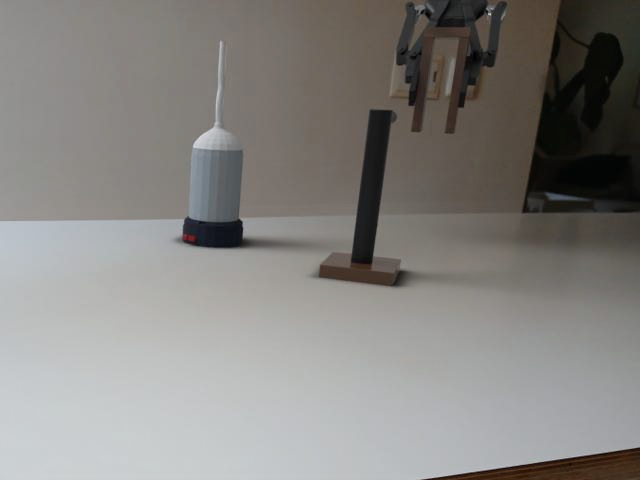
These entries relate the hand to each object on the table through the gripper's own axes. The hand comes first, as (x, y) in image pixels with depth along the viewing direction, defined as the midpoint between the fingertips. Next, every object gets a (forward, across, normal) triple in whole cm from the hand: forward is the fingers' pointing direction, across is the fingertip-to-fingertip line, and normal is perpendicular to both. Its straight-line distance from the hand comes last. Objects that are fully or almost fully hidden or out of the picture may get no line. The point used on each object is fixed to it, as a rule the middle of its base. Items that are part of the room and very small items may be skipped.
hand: (436, 99), depth 98 cm
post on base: (+28, +4, +1) cm, 29 cm away
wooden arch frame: (+1, 0, -6) cm, 6 cm away
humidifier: (+24, +25, -3) cm, 35 cm away
